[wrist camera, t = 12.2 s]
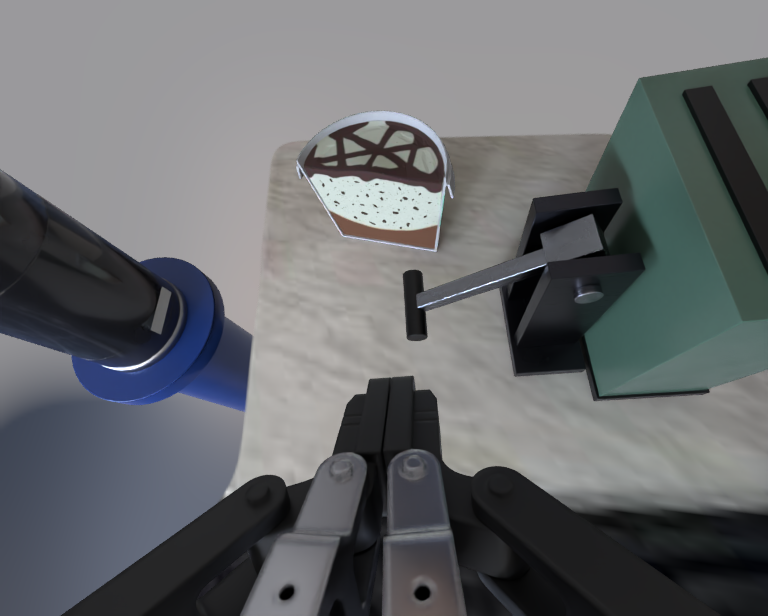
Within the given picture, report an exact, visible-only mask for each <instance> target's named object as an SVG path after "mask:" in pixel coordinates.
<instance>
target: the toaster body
mask: <svg viewBox="0 0 768 616" xmlns="http://www.w3.org/2000/svg"><path fill="white" fill-rule="evenodd" d="M611 188H618V189H619V192H620V195H621V198H622V201H623V203H622V205H621V206H620V208H619V209H618V211H617V212H616V214H615V216H614V217H613V219H612V220H611V222H610V224H609V225H608V227H607V228H606V230H605V231H604V236H605V240H606V243H607V246H608V249H609V253H610V255H619V254H628V253H638V252H640V254H641V257H642V260H643V263H644V266H645V269H646V270H645V271H644V272H643V273H642V274H641V275H640V276H639V277H638V278H637V279H636V280H635V281H634V282H633V283H632V285H631V286H630V287H629V288H628V289H627V290H626V291H625V292H624V293H623V294H622V295H621V296H620V297H619V298H618V299H617V300H616V301H615V302H614V303H613V304H612V306H611V307H610V308H609V309H608V310H607V311H606V312H605V313H604V314H603V315H602V316H601V317H600V318H599V319H598V320H597V321H596V322H595V323H594V324H593V325H592V326H591V328H590V329H589V330H588V331H587V332H586V333H585V334H584V335H583V336H582V337H581V338H580V339H579V342H580V346H581V350H582V354H583V358H584V363H585V367H586V371H587V375H588V379H589V383H590V387H591V391H592V396H593V400H594V401H603V400H620V399H637V398H654V397H670V396H687V395H703V394H706V393H709V389H710V388H713V387H716V386H719V385H722V384H725V383H728V382H731V381H734V380H737V379H740V378H743V377H746V376H749V375H752V374H755V373H758V372H761V371H764V370H768V58H762V59H756V60H750V61H743V62H737V63H732V64H725V65H718V66H712V67H706V68H699V69H693V70H687V71H681V72H674V73H668V74H662V75H656V76H650V77H643V78H639V79H638V81H637V84H636V86H635V88H634V90H633V92H632V94H631V96H630V98H629V101H628V103H627V105H626V107H625V109H624V111H623V113H622V115H621V117H620V120H619V121H618V123H617V126H616V128H615V130H614V132H613V134H612V136H611V138H610V140H609V142H608V145H607V147H606V149H605V151H604V153H603V155H602V157H601V159H600V161H599V164H598V166H597V168H596V170H595V172H594V174H593V176H592V178H591V180H590V183H589V185H588V187H587V189H586V191H585V192H587V191H595V190H603V189H611Z"/></svg>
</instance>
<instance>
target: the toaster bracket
mask: <svg viewBox="0 0 768 616" xmlns="http://www.w3.org/2000/svg"><path fill="white" fill-rule="evenodd" d="M622 203H623V201H622V198H621V195H620V192H619V189H618V188H611V189H603V190H595V191H587V192H579V193H571V194H563V195H555V196H547V197H539V198H533V201H532V204H531V207H530V211H529V214H528V217H527V221H526V224H525V227H524V231H523V234H522V238H521V241H520V244H519V248H518V251H517V254H516V258H518V257H521V256H523V255H526V254H529V253H532V252H534V251H537V250H540V249H543V245H542V241H541V237H540V234H541V233H544V232H546V231H549V230H551V229H554V228H557V227H559V226H562V225H564V224H567V223H570V222H572V221H575V220H577V219H580V218H583V217H585V216H588V215H590V214H593V215H594V217H595V219H596V220H597V222H598V224H599V226H600V227H601V229H602V231H603V233H604V231H605V230H606V228H607V227H608V225H609V224H610V222H611V220H612V219H613V217H614V216H615V214H616V212H617V211H618V209H619V208H620V206H621V205H622ZM645 270H646V269H645V266H644V263H643V260H642V257H641V254H640V252H638V253H628V254H619V255H609V256H600V257H590V258H581V259H571V260H562V261H552V262H547V265H546V267H545V269H544V271H543V273H542V274H539V275H536V276H533V277H530V278H527V279H524V280H521V281H517V282H514V283H511V284H508V285H505V286H502V287H499V288H500V294H501V300H502V305H503V311H504V317H505V323H506V329H507V335H508V341H509V347H510V353H511V359H512V365H513V371H514V376H515V377H516V376H530V375H545V374H559V373H574V372H582V371H584V370H585V369H586V367H585V363H584V358H583V354H582V350H581V346H580V342H579V339H580V338H581V337H582V336H583V335H584V334H585V333H586V332H587V331H588V330H589V329H590V328H591V326H592V325H593V324H594V323H595V322H596V321H597V320H598V319H599V318H600V317H601V316H602V315H603V314H604V313H605V312H606V311H607V310H608V309H609V308H610V307H611V306H612V304H613V303H614V302H615V301H616V300H617V299H618V298H619V297H620V296H621V295H622V294H623V293H624V292H625V291H626V290H627V289H628V288H629V287H630V286H631V285H632V283H633V282H634V281H635V280H636V279H637V278H638V277H639V276H640V275H641V274H642V273H643V272H644V271H645Z"/></svg>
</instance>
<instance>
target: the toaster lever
mask: <svg viewBox="0 0 768 616" xmlns="http://www.w3.org/2000/svg"><path fill="white" fill-rule="evenodd" d="M540 237H541V241H542V245H543V249H540V250H537V251H534V252H532V253H529V254H526V255H523V256H521V257H518V258H515V259H512V260H509V261H507V262H504V263H501V264H498V265H496V266H493V267H490V268H487V269H485V270H482V271H479V272H476V273H474V274H471V275H468V276H465V277H462V278H460V279H457V280H454V281H451V282H449V283H446V284H443V285H440V286H438V287H435V288H432V289H429V290H427V291H424V288H423V276H422V272H421V271H419V270H409V271H406V272H405V273H404V274H403V284H404V301H405V317H406V333H407V339H408V340H411V341H421V340H424V339H426V338H427V337H428V336H427V324H426V312H425V311H428V310H431V309H434V308H438V307H441V306H444V305H447V304H450V303H453V302H456V301H459V300H462V299H465V298H468V297H471V296H474V295H477V294H481V293H484V292H487V291H490V290H493V289H496V288H499V287H502V286H505V285H508V284H511V283H514V282H517V281H521V280H524V279H527V278H530V277H533V276H536V275H539V274H542V273H543V271H544V269H545V267H546V265H547V262H552V261H562V260H571V259H581V258H590V257H600V256H609V255H610V253H609V249H608V246H607V243H606V240H605V236H604V233H603V231H602V229H601V227H600V226H599V224H598V222H597V220H596V219H595V217H594V215H593V214H590V215H588V216H585V217H583V218H580V219H577V220H575V221H572V222H570V223H567V224H564V225H562V226H559V227H557V228H554V229H551V230H549V231H546V232H544V233H541V234H540Z"/></svg>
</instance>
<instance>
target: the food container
mask: <svg viewBox="0 0 768 616" xmlns="http://www.w3.org/2000/svg"><path fill="white" fill-rule="evenodd" d="M296 161H297V165H296V168H297V171H298V175H299V178H300V179H301V178H302V176H303V175H305V177H306V179H307V180H308V182H309V184H310V185H311V187H312V188H313V190H314V192H315V193H316V195H317V197H318V198H319V200H320V201H321V203H322V205H323V206H324V208H325V209H326V211H327V213H328V214H329V216H330V218H331V219H332V221H333V222H334V224H335V226H336V227H337V229H338V231H339V232H340V234H341V235H342V236H343V237H349V238H355V239H361V240H367V241H373V242H379V243H385V244H392V245H398V246H404V247H410V248H416V249H422V250H428V251H434V252H437V247H438V241H439V234H440V226H441V219H442V212H443V205H444V197H445V190H446V186H448V189H449V193H450V196H451V198H454V191H455V176H454V172H453V168H452V164H451V161H450V157H449V154H448V152H447V150H446V148H445V145H444V144H443V143H442V141H441V139H440V138H439V137H438V135H437V134H436V133H435V131H433V130H432V129H431V128H430V127H429V126H428V125H427V124H425V123H424V122H422V121H421V120H419V119H417V118H414V117H412V116H410V115H406V114H402V113H399V112H392V111H370V112H363V113H358V114H354V115H351V116H348V117H345V118H343V119H340V120H338V121H336V122H334V123H332V124H331V125H329V126H328V127H326V128H324V129H323V130H321V131H320V132H319V133H318V134H316V135H315V136H314V137H313V138H312V139H311V140H310V141H309V142H308V143H307V144H306V146H305V147H304V148H303V150H302V151H301V152H300V154H299V156H298V158H297V160H296Z"/></svg>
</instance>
